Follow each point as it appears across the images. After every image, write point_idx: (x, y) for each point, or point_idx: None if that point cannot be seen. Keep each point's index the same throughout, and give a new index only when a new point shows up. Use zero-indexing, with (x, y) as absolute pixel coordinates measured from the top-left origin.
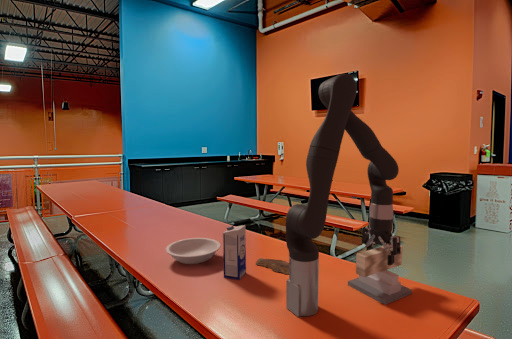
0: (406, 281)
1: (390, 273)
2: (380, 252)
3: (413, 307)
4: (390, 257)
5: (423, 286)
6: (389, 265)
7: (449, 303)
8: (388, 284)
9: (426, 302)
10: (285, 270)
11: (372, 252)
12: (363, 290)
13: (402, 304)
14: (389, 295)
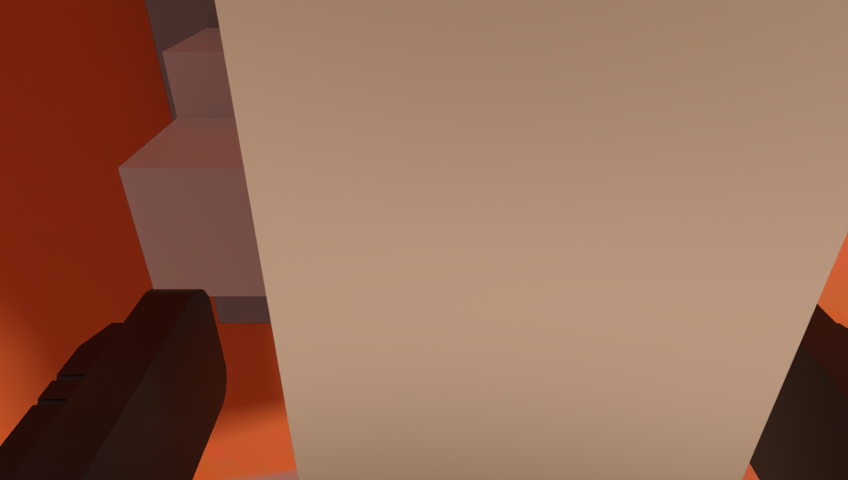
0: None
1: (248, 245)
2: (301, 466)
3: (13, 102)
4: (33, 462)
5: (287, 451)
6: (159, 293)
7: (11, 388)
8: (226, 98)
9: (67, 273)
10: None
11: (504, 204)
12: None
13: (93, 56)
14: (203, 25)
